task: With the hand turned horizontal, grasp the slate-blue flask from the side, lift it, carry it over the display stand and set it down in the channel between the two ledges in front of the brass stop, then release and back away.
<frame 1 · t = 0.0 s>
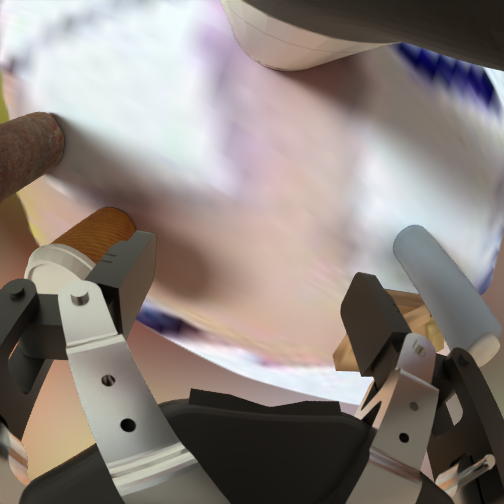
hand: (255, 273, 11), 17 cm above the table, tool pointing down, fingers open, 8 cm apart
display stand: (391, 328, 38), on the table
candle: (43, 141, 24), on the table
disposable coffee cup: (113, 231, 30), on the table
flask: (411, 243, 30), on the table
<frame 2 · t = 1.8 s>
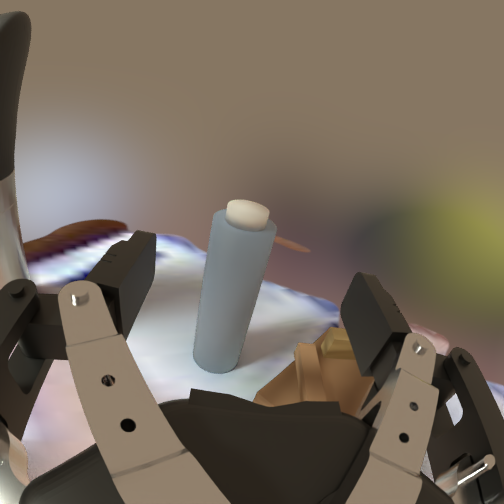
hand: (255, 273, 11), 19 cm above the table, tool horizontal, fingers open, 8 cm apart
display stand: (340, 407, 26), on the table
flask: (215, 355, 30), on the table
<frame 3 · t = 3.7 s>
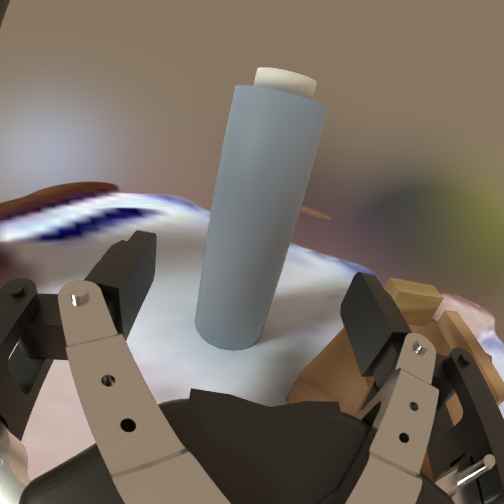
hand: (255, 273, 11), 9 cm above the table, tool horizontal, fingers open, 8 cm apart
display stand: (406, 391, 17), on the table
flask: (228, 325, 21), on the table
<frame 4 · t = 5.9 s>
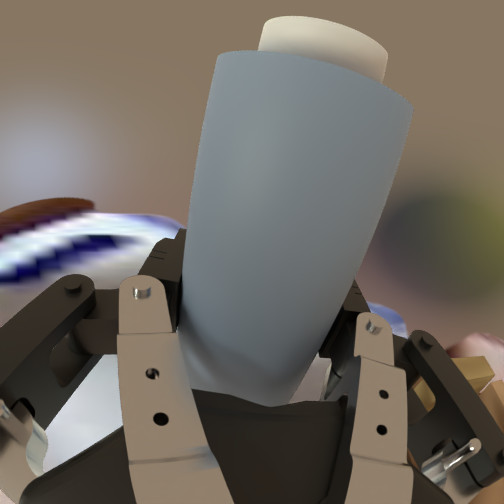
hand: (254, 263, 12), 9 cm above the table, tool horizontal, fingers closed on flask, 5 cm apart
display stand: (437, 483, 10), on the table
flask: (220, 424, 14), on the table, touching gripper
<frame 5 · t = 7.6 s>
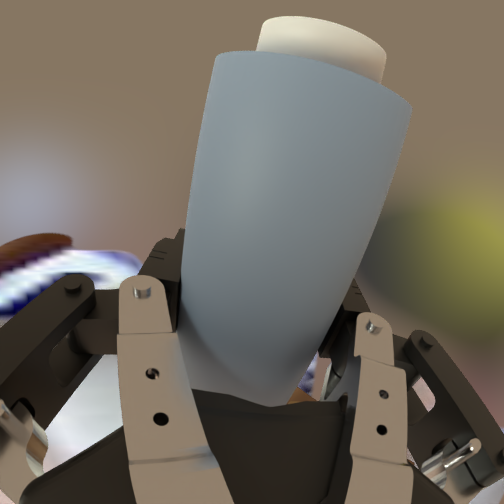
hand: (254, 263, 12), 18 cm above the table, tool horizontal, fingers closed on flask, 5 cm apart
flask: (219, 424, 14), point 9 cm above the table, touching gripper
when the fingers open (13 cm above the table, at t = 9.6 s): flask drops 1 cm, resting on display stand.
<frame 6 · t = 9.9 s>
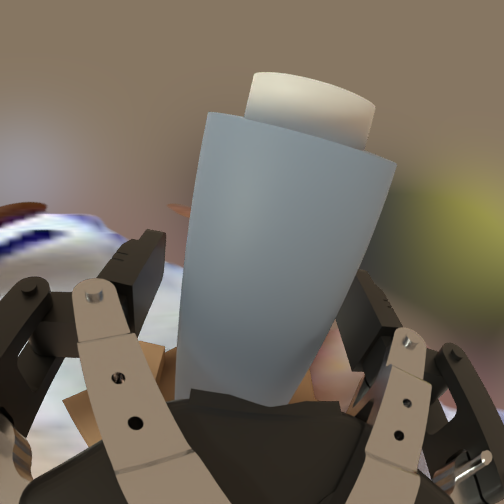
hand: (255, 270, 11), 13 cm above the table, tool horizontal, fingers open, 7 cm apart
display stand: (211, 449, 16), on the table
flask: (216, 435, 14), point 3 cm above the table, touching display stand
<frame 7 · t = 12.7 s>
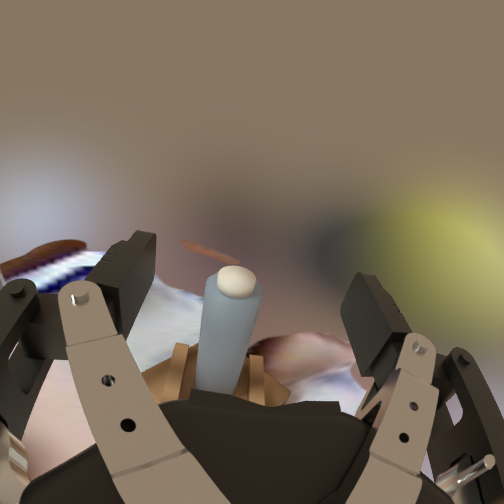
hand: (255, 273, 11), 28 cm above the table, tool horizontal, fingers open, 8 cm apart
display stand: (212, 398, 34), on the table
flask: (214, 388, 32), point 3 cm above the table, touching display stand
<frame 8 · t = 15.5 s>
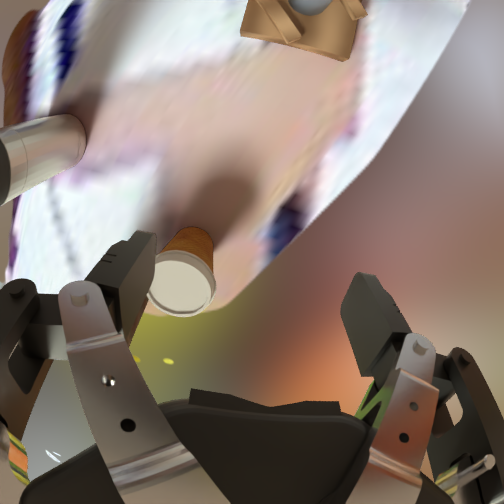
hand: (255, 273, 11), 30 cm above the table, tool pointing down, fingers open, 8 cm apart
display stand: (302, 6, 27), on the table
disposable coffee cup: (193, 244, 44), on the table
flask: (307, 0, 24), point 3 cm above the table, touching display stand
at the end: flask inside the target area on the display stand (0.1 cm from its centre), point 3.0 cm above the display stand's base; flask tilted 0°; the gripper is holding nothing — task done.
